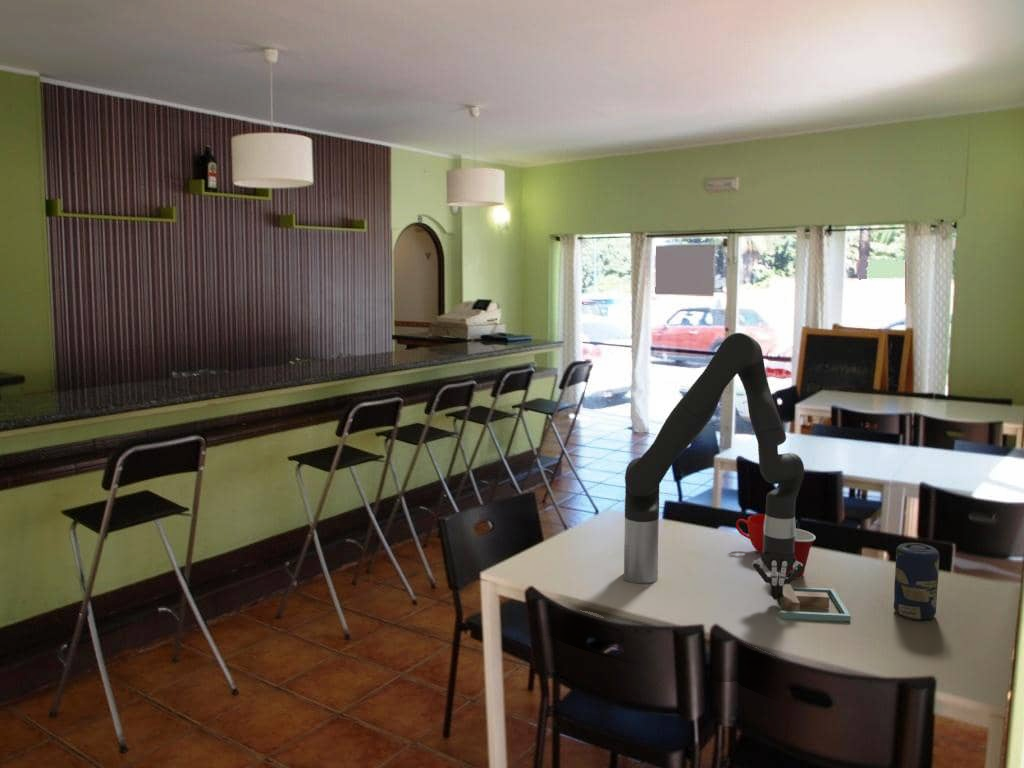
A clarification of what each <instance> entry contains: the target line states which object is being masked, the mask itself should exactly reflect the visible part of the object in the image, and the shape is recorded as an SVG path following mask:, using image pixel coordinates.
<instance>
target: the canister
mask: <svg viewBox="0 0 1024 768" xmlns="http://www.w3.org/2000/svg"><path fill="white" fill-rule="evenodd" d="M895 552H896V553H895V571H894V573H895V574H894V583H893V584H894V587H893V588H894V589H893V593H894V594H893V597H894V598H893V609H894V610H895V612H896V613H898V614H899V615H901V616H903V617H905V618H909V619H914V620H929V619H932V618H934V617H935V615H936V614H937V603H938V602H937V601H938V586H939V585H938V584H939V574H940V573H939V571H940V569H939V568H940V567H939V566H940V552H939V550H938V549H937V548H935V547H934V546H931V545H928V544H925V543H920V542H905V543H901V544H898V546H897V547H896V550H895Z"/></svg>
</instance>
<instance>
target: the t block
mask: <svg viewBox="0 0 1024 768" xmlns="http://www.w3.org/2000/svg"><path fill="white" fill-rule="evenodd" d="M792 587H793V586H792V585H791V584H785V585H783V596H782V598H780V600H779V601H780V603H781V604H782V607H783V609H784V611H796V612H800V608H803V609H804V608H805V609H823V608H830V596H829V595H828V594H827V593H823V592H801V591H793V589H792Z"/></svg>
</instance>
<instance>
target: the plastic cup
mask: <svg viewBox="0 0 1024 768" xmlns="http://www.w3.org/2000/svg"><path fill="white" fill-rule="evenodd" d="M815 540H816V535H814V533H811V532H809V531H808V530H803V529H801V528H797V527H796V528H795V547H794V555H795V557H796V560H797V561H798V562H800V563H802V564H803V566H804V570H803V571H802V572H801V573H800V574H799V575H798V576H797V577H796V578H797V579H798V578H801V577H803V576H804V574H805V570H806V565H807V562H808V558H809V554H810V550H811V547H812V545H813V543H814V541H815ZM793 565H794V564H793ZM793 565H792V566H791V567H790V569H789V570H788V571H786V575H787V574H788V573H789V572H790V571H791V570H792V569H793ZM786 575H785V576H786ZM796 578H795V579H796Z"/></svg>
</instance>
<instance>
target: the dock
mask: <svg viewBox="0 0 1024 768" xmlns="http://www.w3.org/2000/svg"><path fill="white" fill-rule="evenodd" d="M791 587H792V589H793V591H801V592H823V593H827V594H828V596H829V595H830V596H829V597H832V598H831V599H832V601H833V603H834V602H835V603H834V605H835V606H836V605H837V606H836V608H837V607H838V608H837V609H838V611H839V610H840V611H839V612H840V613H833V612H815V611H813V612H811V611H799V612H796V611H785V610H780V618H781V619H785V620H786V619H787V620H788V619H791V620H807V621H809V620H810V621H825V622H826V621H827V620H828V621H830V622H845V621H850V622H851V616H852V615H851V614H850V613H849V611H848V609H847V607H846V606H845V605H844V603H843V602H842V600H841V598H840V597H839V595H838V593H837V592H836V590H835V589H834V588H826V587H825V588H824V587H803V586H791ZM841 613H842V614H841Z"/></svg>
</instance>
